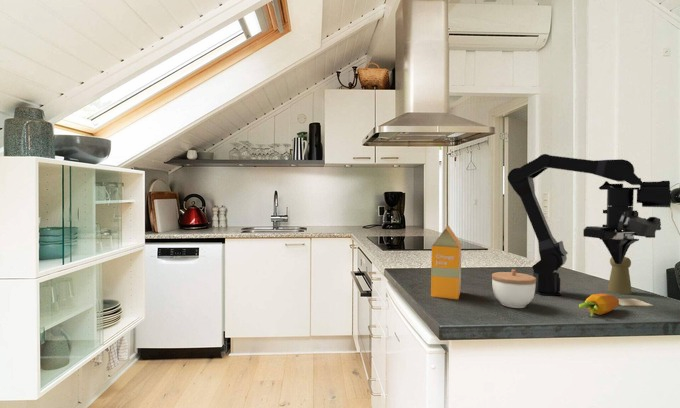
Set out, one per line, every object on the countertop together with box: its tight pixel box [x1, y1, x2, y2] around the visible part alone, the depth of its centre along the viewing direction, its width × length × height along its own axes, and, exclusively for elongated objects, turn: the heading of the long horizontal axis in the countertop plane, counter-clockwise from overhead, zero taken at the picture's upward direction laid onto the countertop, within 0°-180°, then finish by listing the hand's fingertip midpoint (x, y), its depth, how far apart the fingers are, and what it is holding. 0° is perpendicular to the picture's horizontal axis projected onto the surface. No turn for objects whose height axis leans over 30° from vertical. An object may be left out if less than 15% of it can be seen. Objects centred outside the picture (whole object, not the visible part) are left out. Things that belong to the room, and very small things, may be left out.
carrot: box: [578, 293, 620, 318], centre depth 92 cm, size 5×5×15 cm
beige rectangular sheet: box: [617, 298, 654, 307], centre depth 101 cm, size 8×6×1 cm
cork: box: [607, 256, 633, 296], centre depth 113 cm, size 6×6×11 cm
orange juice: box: [430, 225, 462, 300], centre depth 108 cm, size 8×9×20 cm
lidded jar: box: [491, 269, 536, 309], centre depth 98 cm, size 11×11×9 cm
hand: (618, 263), depth 100 cm, fingers closed
